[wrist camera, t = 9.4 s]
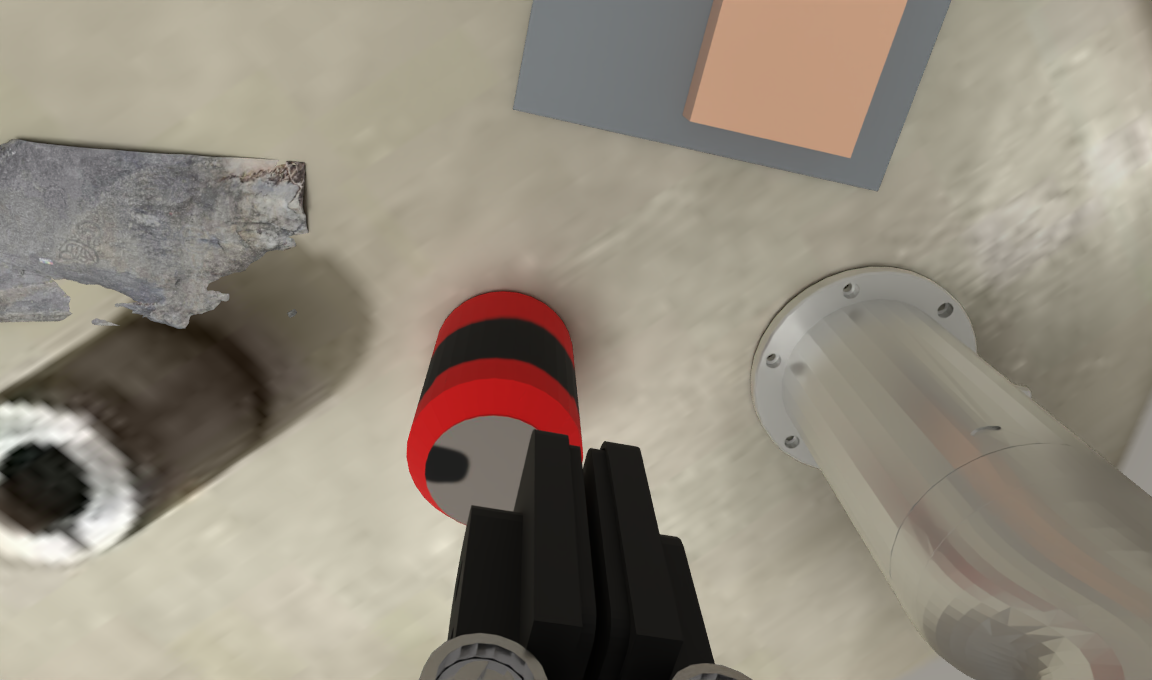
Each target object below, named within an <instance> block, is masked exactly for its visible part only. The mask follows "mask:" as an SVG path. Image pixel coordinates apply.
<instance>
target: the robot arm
mask: <svg viewBox="0 0 1152 680" xmlns="http://www.w3.org/2000/svg"><path fill="white" fill-rule="evenodd" d="M848 284H849V286H848V287H847V288H846V289H844V287H845V286H846V285H848ZM939 306H940V307H939ZM771 354H773V355H772V356H771V357H769V358H767V357H768V356H769V355H771ZM751 396H752V400H753V404H754V408H755V412H756V414H757V416H758V418H759V420H760V422H761V424H762V426H763V428H764V429H765V431H766V432H767V434H768V435H769V437H770V439H771V440H772V441H773V442H774V443H775V444H776V445H777V446H778V447H779V448H780V449H781V450H782V451H783V452H784V453H786V454H787V455H789V456H791V457H792V458H794V459H795V460H797V461H799V462H801V463H803V464H806V465H809V466H811V467H814V468H817V469H821V471H822V473H823V474H824V476H825V478H826V480H827V481H828V483H829V485H830V486H831V488H832V490H833V491H834V493H835V495H836V496H837V498H838V500H839V501H840V503H841V505H842V506H843V508H844V510H845V511H846V513H847V515H848V516H849V518H850V520H851V521H852V523H853V525H854V526H855V528H856V530H857V531H858V533H859V535H860V536H861V538H862V540H863V541H864V543H865V545H866V546H867V548H868V550H869V552H870V553H871V555H872V557H873V558H874V560H875V562H876V563H877V565H878V567H879V568H880V570H881V572H882V573H883V575H884V577H885V578H886V580H887V582H888V583H889V585H890V587H891V588H892V590H893V592H894V593H895V595H896V597H897V599H898V601H899V602H900V604H901V606H902V607H903V609H904V611H905V612H906V614H907V616H908V617H909V619H910V621H911V622H912V624H913V625H914V627H915V628H916V629H917V631H918V632H919V633H920V635H921V636H922V638H923V639H924V640H925V641H926V642H927V643H928V644H929V645H930V646H931V648H932V649H933V650H934V651H935V652H936V653H937V654H938V655H939V656H941V657H942V658H943V659H944V660H946V661H947V662H948V663H950V664H951V665H952V666H954V667H955V668H956V669H958V670H959V671H961V672H962V673H964V674H966V675H967V676H969V677H971V678H973V679H975V680H1152V497H1151V496H1150V495H1149V494H1147V493H1146V492H1145V491H1144V490H1142V489H1141V488H1140V487H1139V486H1137V485H1136V484H1135V483H1134V482H1132V481H1131V480H1130V479H1129V478H1127V477H1126V476H1125V475H1124V474H1123V473H1121V472H1120V471H1119V470H1118V469H1116V468H1115V467H1114V466H1113V465H1112V464H1110V463H1109V462H1108V461H1107V460H1105V459H1104V458H1103V457H1102V456H1101V455H1099V454H1098V453H1097V452H1096V451H1094V450H1093V449H1092V448H1091V447H1090V446H1088V445H1087V444H1086V443H1085V442H1083V441H1082V440H1081V439H1080V438H1079V437H1077V436H1076V435H1075V434H1074V433H1072V432H1071V431H1070V430H1069V429H1068V428H1066V427H1065V426H1064V425H1063V424H1061V423H1060V422H1059V421H1058V420H1057V419H1055V418H1054V417H1053V416H1052V415H1050V414H1049V413H1048V412H1047V411H1046V410H1044V409H1043V408H1042V407H1041V406H1039V405H1038V404H1037V403H1036V402H1035V401H1033V400H1032V399H1031V391H1030V390H1029V388H1028V387H1025V386H1021V385H1015V384H1013V383H1011V382H1010V381H1009V380H1008V379H1006V378H1005V377H1004V376H1003V375H1002V374H1000V373H999V372H998V371H997V370H995V369H994V368H993V367H992V366H991V365H989V364H988V363H987V362H986V361H984V360H983V359H982V358H981V357H980V356H978V354H977V344H976V336H975V333H974V330H973V327H972V324H971V321H970V318H969V317H968V315H967V314H966V312H965V311H964V309H963V308H962V306H961V304H960V303H959V302H958V301H957V300H956V299H955V298H954V297H953V296H952V295H951V294H950V293H949V292H947V291H946V290H945V289H944V288H942V287H941V286H939V285H938V284H937V283H935V282H934V281H932V280H931V279H929V278H926V277H924V276H922V275H920V274H917V273H915V272H913V271H908V270H904V269H899V268H894V267H865V268H859V269H853V270H848V271H845V272H842V273H839V274H836V275H833V276H830V277H827V278H825V279H823V280H822V281H820V282H818V283H816V284H814V285H812V286H811V287H809V288H807V289H805V290H804V291H803V292H802V293H800V294H799V295H798V296H796V297H795V298H794V299H793V300H791V301H790V302H789V303H788V304H787V305H786V306H785V307H784V308H783V309H782V310H781V311H780V313H779V314H778V315H777V316H776V317H775V318H774V319H773V321H772V322H771V324H770V325H769V327H768V328H767V330H766V332H765V333H764V335H763V336H762V338H761V341H760V343H759V346H758V348H757V350H756V353H755V355H754V360H753V365H752V370H751ZM419 680H752V679H751V678H749V677H747V676H746V675H744V674H743V673H741V672H739V671H736V670H734V669H731V668H728V667H726V666H723V665H716V664H715V663H714V659H713V655H712V652H711V648H710V644H709V640H708V636H707V633H706V629H705V625H704V621H703V618H702V614H701V610H700V606H699V603H698V599H697V595H696V591H695V588H694V584H693V580H692V576H691V573H690V569H689V565H688V561H687V557H686V554H685V550H684V546H683V544H682V542H681V540H680V539H679V538H678V537H674V536H668V535H661V534H659V530H658V525H657V521H656V516H655V512H654V508H653V503H652V499H651V495H650V490H649V486H648V481H647V477H646V473H645V468H644V464H643V459H642V455H641V451H640V448H639V447H636V446H630V445H624V444H618V443H612V442H606V441H604V442H603V444H602V446H601V448H600V450H599V449H593V448H590V449H589V450H588V452H587V456H586V459H585V463H584V466H583V467H582V457H581V448H580V446H575V445H569V436H568V435H565V434H559V433H553V432H547V431H542V430H536V429H534V430H533V431H532V434H531V438H530V442H529V446H528V450H527V455H526V459H525V463H524V468H523V472H522V476H521V480H520V485H519V489H518V493H517V498H516V502H515V506H514V511H506V510H500V509H494V508H487V507H481V506H474V505H472V506H471V508H470V512H469V517H468V522H467V526H466V531H465V536H464V541H463V546H462V551H461V556H460V562H459V567H458V573H457V578H456V584H455V591H454V597H453V604H452V611H451V618H450V625H449V633H448V640H447V641H446V642H444V643H443V644H442V645H441V646H440V647H438V648H437V649H436V650H435V651H433V652H432V654H431V655H430V657H429V659H428V660H427V662H426V664H425V665H424V667H423V670H422V673H421V676H420V678H419Z"/></svg>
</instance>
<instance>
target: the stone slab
mask: <svg viewBox="0 0 1152 680" xmlns="http://www.w3.org/2000/svg"><path fill="white" fill-rule="evenodd" d="M278 161H279V160H269V159H254V158H235V157H207V156H198V155H184V154H158V153H145V152H133V151H122V150H110V149H92V148H81V147H72V146H61V145H52V144H42V143H34V142H28V141H23V140H19V139H14V140H10V141H9V142H8V143H5V144H2V145H0V322H29V321H61V320H64V319H65V318H66V317H68V316H69V315H71V314H72V313H71V312H69V309H70V308H69V302H70V297H69V296H67V295H66V293H65V292H64V291H63V290H62V289H61V288H60V287H59V286H58V284H57V283H56V282H54V281H53V280H52V279H51V278H53V279H58V280H60V279H67V280H73V281H77V282H79V283H82V284H86V285H87V284H98V285H101V286H103V287H105V288H109V289H113V290H116V291H118V292H120V293H123V294H125V295H127V296H129V297H131V298H132V299H133V300H135V301H137V302H135V303H120V304H115V306H116V307H119V306H123V307H126V308H128V309H131V310H133V312H132V313H136V314H142V315H143V317H147V318H148V319H150V320H152V321H155V322H159V323H164V324H167V325H169V326H172V327H175V328H179V329H181V328H185V327H186V326H187V325H188V323H189V318H190V316H191V315H195V314H198V313H199V314H202V313H204V312H206V311H209V310H213V309H214V308H215V307H216V306H217V305H218V304H219V303H220V302H221V301H228V300H229V294H222V293H220V292H217V291H207V289H206V288H207V286H208V284H209V283H210V282H213V281H215V280H218V279H219V278H220V277H223V276H226V275H229V274H232V273H235V272H242V271H244V270H246V268H247V267H248V266H249V265H250V264H251V263H252V262H254V261H256V260H258V259H260V258H261V257H262V256H263V255H264V254H265V253H266V252H267V251H272V250H287V249H290V248H292V247H295V246H296V243H295V241H294V239H292V238H289V236H292V235H299V234H304V233H308V230H307V225H306V216H305V213H304V211H303V194H304V183H305V182H304V178H305V168H304V167H305V163H299V162H286V164H283V165H279V166H276V164H277V162H278ZM292 163H295V164H298V165H292ZM275 166H276V167H275ZM286 240H287V242H286ZM296 313H297V311H296V310H295V309H293V310H292V311H290V312H288V313H287V314H288V316H289V317H292V316H295V314H296ZM92 324H95V325H116V324H113V323H111V322H106V321H105V320H99V319H94V320H93V321H92ZM119 326H120V325H119Z"/></svg>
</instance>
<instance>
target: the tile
mask: <svg viewBox="0 0 1152 680" xmlns="http://www.w3.org/2000/svg"><path fill="white" fill-rule="evenodd" d="M907 1H908V0H713V4H712V8H711V11H710V15H709V19H708V22H707V26H706V30H705V33H704V37H703V41H702V44H701V48H700V52H699V56H698V59H697V63H696V67H695V70H694V74H693V78H692V81H691V85H690V89H689V92H688V96H687V100H686V103H685V107H684V111H683V116H684V117H685V118H686V119H688V120H689V121H691V122H695V123H699V124H704V125H708V126H712V127H717V128H721V129H725V130H730V131H734V132H739V133H743V134H747V135H752V136H756V137H760V138H765V139H769V140H773V141H778V142H782V143H786V144H791V145H795V146H800V147H804V148H808V149H813V150H817V151H821V152H826V153H830V154H834V155H839V156H843V157H847V158H851V155H852V152H853V149H854V147H855V144H856V141H857V138H858V136H859V133H860V130H861V127H862V125H863V122H864V119H865V116H866V114H867V111H868V108H869V105H870V103H871V100H872V97H873V94H874V92H875V89H876V86H877V83H878V81H879V78H880V75H881V72H882V70H883V67H884V64H885V61H886V58H887V56H888V53H889V50H890V47H891V45H892V42H893V39H894V36H895V34H896V31H897V28H898V25H899V23H900V20H901V17H902V14H903V12H904V9H905V6H906V3H907Z"/></svg>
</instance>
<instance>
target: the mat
mask: <svg viewBox="0 0 1152 680" xmlns="http://www.w3.org/2000/svg"><path fill="white" fill-rule="evenodd" d="M950 2H951V0H908V1H907V3H906V6H905V9H904V12H903V14H902V17H901V20H900V23H899V25H898V28H897V31H896V34H895V36H894V39H893V42H892V45H891V47H890V50H889V53H888V56H887V58H886V61H885V64H884V67H883V70H882V72H881V75H880V78H879V81H878V83H877V86H876V89H875V92H874V94H873V97H872V100H871V103H870V105H869V108H868V111H867V114H866V116H865V119H864V122H863V125H862V127H861V130H860V133H859V136H858V138H857V141H856V144H855V147H854V149H853V152H852V155H851V158H847V157H843V156H839V155H834V154H830V153H826V152H821V151H817V150H813V149H808V148H804V147H800V146H795V145H791V144H786V143H782V142H778V141H773V140H769V139H765V138H760V137H756V136H752V135H747V134H743V133H739V132H734V131H730V130H725V129H721V128H717V127H712V126H708V125H704V124H699V123H695V122H691V121H689V120H688V119H686V118H685V117H684V116H683V111H684V107H685V103H686V100H687V96H688V92H689V89H690V85H691V81H692V78H693V74H694V70H695V67H696V63H697V59H698V56H699V52H700V48H701V44H702V41H703V37H704V33H705V30H706V26H707V22H708V19H709V15H710V11H711V8H712V4H713V0H533V4H532V9H531V15H530V20H529V26H528V31H527V36H526V42H525V47H524V52H523V58H522V63H521V69H520V74H519V79H518V85H517V90H516V96H515V101H514V106H513V110H518V111H522V112H527V113H531V114H535V115H540V116H544V117H549V118H553V119H558V120H562V121H567V122H571V123H576V124H580V125H584V126H589V127H593V128H598V129H602V130H607V131H611V132H616V133H620V134H625V135H629V136H633V137H638V138H642V139H647V140H651V141H656V142H660V143H665V144H669V145H673V146H678V147H682V148H687V149H691V150H696V151H700V152H705V153H709V154H714V155H718V156H722V157H727V158H731V159H736V160H740V161H745V162H749V163H754V164H758V165H763V166H767V167H771V168H776V169H780V170H785V171H789V172H794V173H798V174H803V175H807V176H812V177H816V178H820V179H825V180H829V181H834V182H838V183H843V184H847V185H852V186H856V187H860V188H865V189H869V190H874V191H878V190H879V187H880V185H881V182H882V180H883V177H884V174H885V172H886V169H887V167H888V164H889V161H890V159H891V156H892V154H893V151H894V148H895V146H896V143H897V141H898V138H899V135H900V133H901V130H902V128H903V125H904V122H905V120H906V117H907V115H908V112H909V109H910V107H911V104H912V101H913V99H914V96H915V94H916V91H917V88H918V86H919V83H920V81H921V78H922V75H923V73H924V70H925V68H926V65H927V62H928V60H929V57H930V55H931V52H932V49H933V47H934V44H935V42H936V39H937V36H938V34H939V31H940V29H941V26H942V23H943V21H944V18H945V16H946V13H947V10H948V8H949V5H950Z"/></svg>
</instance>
